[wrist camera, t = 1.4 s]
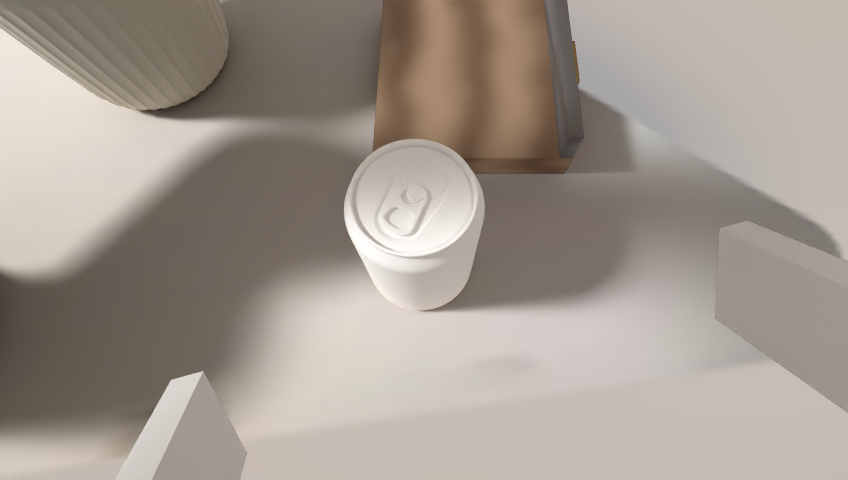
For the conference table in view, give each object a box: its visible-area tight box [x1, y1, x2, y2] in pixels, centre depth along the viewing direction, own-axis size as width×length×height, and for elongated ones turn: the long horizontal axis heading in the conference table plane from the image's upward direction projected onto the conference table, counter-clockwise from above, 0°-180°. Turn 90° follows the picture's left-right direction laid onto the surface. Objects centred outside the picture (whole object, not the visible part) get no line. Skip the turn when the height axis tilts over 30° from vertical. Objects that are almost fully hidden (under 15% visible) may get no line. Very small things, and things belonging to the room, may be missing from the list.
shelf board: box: [373, 0, 584, 174], centre depth 39 cm, size 16×17×6 cm
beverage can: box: [344, 139, 485, 310], centre depth 30 cm, size 8×8×12 cm
